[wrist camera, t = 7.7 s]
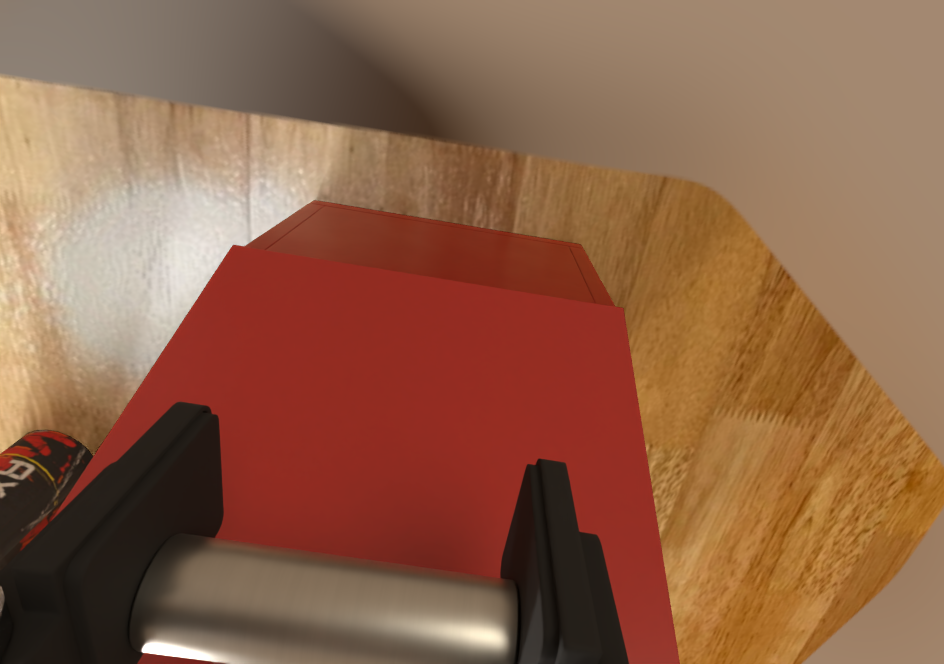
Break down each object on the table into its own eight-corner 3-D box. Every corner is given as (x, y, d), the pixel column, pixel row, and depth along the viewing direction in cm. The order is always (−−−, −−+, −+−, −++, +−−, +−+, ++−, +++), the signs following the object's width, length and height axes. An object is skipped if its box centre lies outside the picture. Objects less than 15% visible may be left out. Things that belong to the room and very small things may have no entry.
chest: (530, 444, 37) (542, 558, 28) (307, 410, 37) (248, 516, 28) (581, 244, 31) (618, 310, 22) (313, 199, 30) (239, 248, 21)
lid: (691, 840, 11) (873, 852, 7) (-71, 745, 11) (-348, 699, 7) (617, 321, 22) (672, 207, 18) (236, 259, 21) (204, 127, 17)
